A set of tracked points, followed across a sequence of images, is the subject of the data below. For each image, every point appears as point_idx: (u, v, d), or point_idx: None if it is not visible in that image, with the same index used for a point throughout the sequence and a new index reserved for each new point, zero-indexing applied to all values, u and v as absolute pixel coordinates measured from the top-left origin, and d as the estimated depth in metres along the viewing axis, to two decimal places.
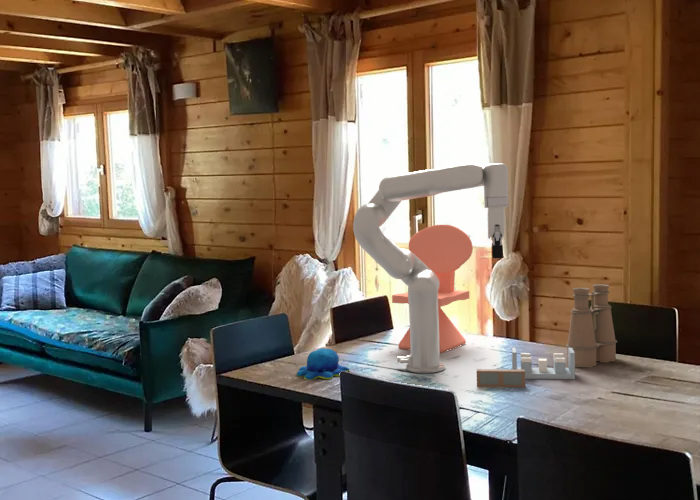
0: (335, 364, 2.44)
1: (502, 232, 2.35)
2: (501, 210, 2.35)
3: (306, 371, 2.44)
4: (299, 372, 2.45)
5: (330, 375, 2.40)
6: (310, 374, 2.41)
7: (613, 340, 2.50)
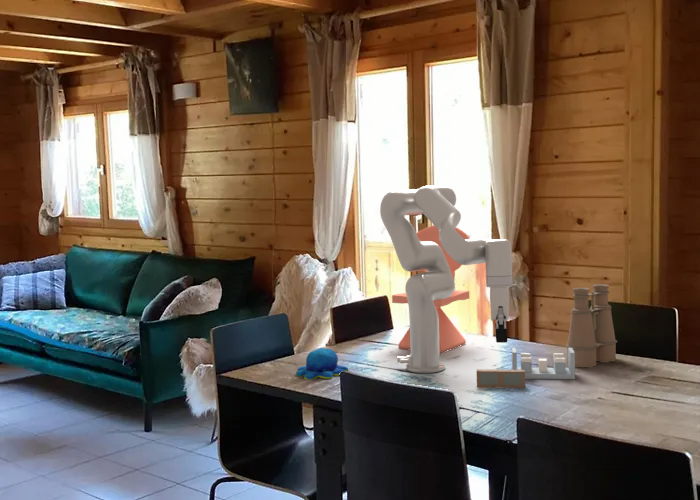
0: (334, 364, 2.45)
1: (506, 314, 2.17)
2: (504, 290, 2.17)
3: (306, 371, 2.45)
4: (299, 372, 2.45)
5: (330, 375, 2.40)
6: (310, 374, 2.41)
7: (613, 340, 2.50)
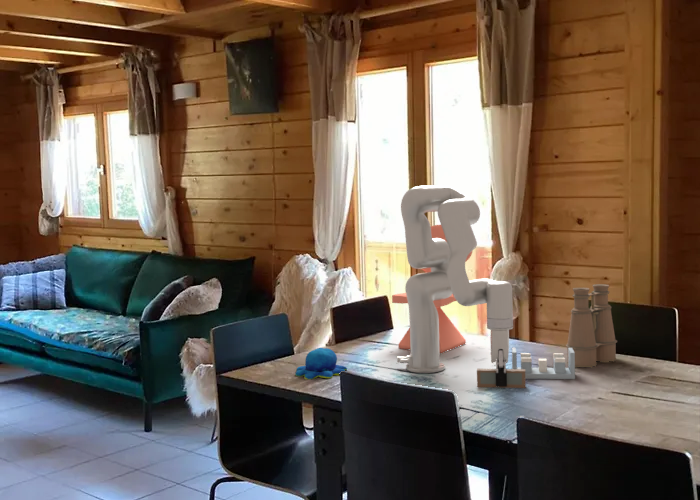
0: (333, 363, 2.45)
1: (506, 357, 2.18)
2: (505, 333, 2.18)
3: (305, 371, 2.45)
4: (298, 372, 2.45)
5: (330, 374, 2.41)
6: (310, 374, 2.41)
7: (613, 340, 2.50)
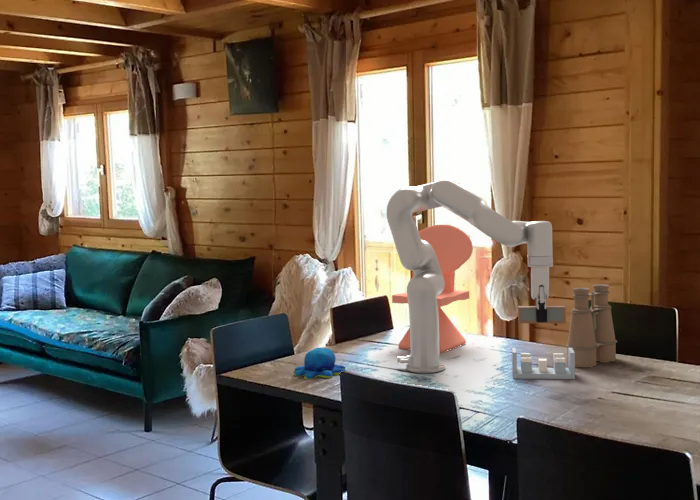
0: (333, 363, 2.46)
1: (547, 293, 2.27)
2: (546, 270, 2.27)
3: (305, 371, 2.45)
4: (297, 372, 2.45)
5: (330, 374, 2.41)
6: (310, 373, 2.42)
7: (613, 340, 2.50)
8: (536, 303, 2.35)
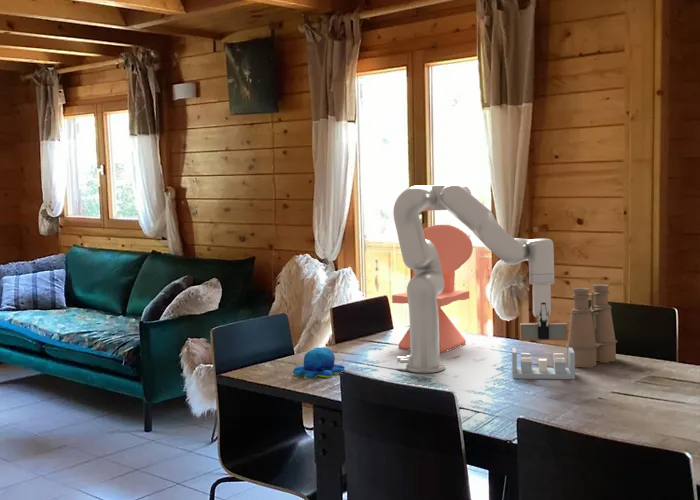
0: (332, 363, 2.47)
1: (549, 310, 2.28)
2: (547, 288, 2.28)
3: (304, 371, 2.45)
4: (297, 372, 2.45)
5: (330, 373, 2.42)
6: (310, 373, 2.42)
7: (613, 340, 2.50)
8: (538, 320, 2.35)
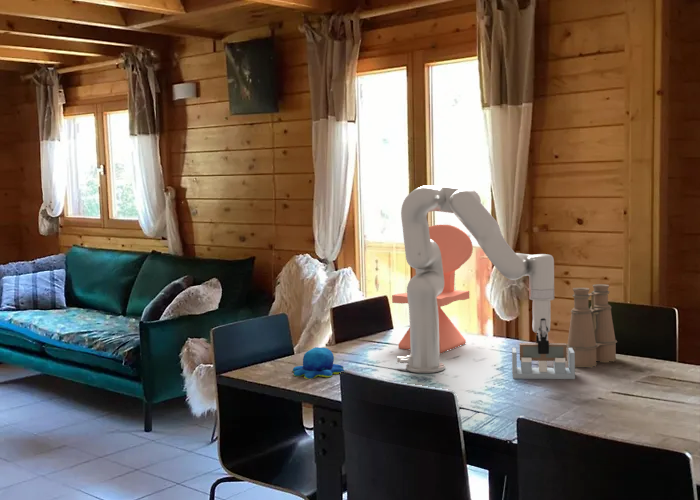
0: (332, 362, 2.47)
1: (548, 326, 2.28)
2: (547, 303, 2.28)
3: (304, 371, 2.45)
4: (297, 372, 2.45)
5: (330, 373, 2.42)
6: (310, 373, 2.42)
7: (613, 340, 2.50)
8: (537, 333, 2.38)
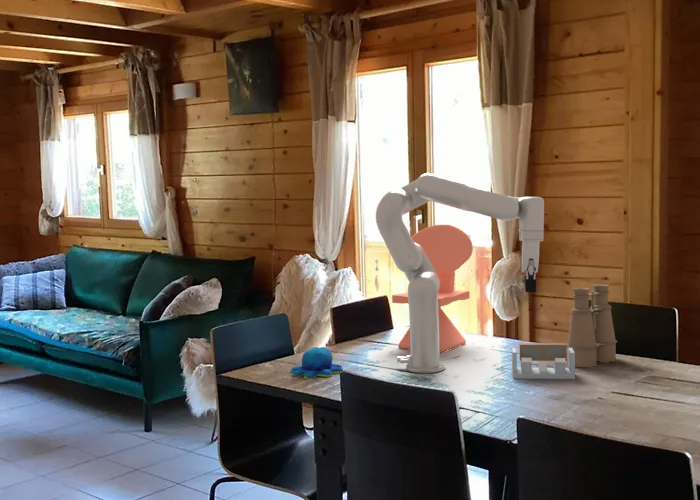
0: (331, 362, 2.48)
1: (536, 266, 2.34)
2: (536, 244, 2.34)
3: (303, 370, 2.45)
4: (296, 372, 2.45)
5: (330, 372, 2.43)
6: (310, 373, 2.42)
7: (613, 340, 2.50)
8: None
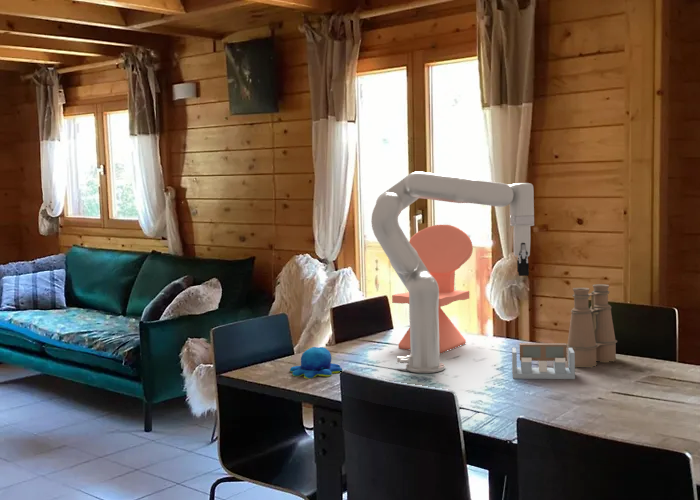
0: (330, 362, 2.48)
1: (528, 250, 2.40)
2: (527, 229, 2.40)
3: (303, 370, 2.46)
4: (296, 372, 2.45)
5: (330, 372, 2.43)
6: (310, 373, 2.42)
7: (613, 340, 2.50)
8: (518, 258, 2.50)
